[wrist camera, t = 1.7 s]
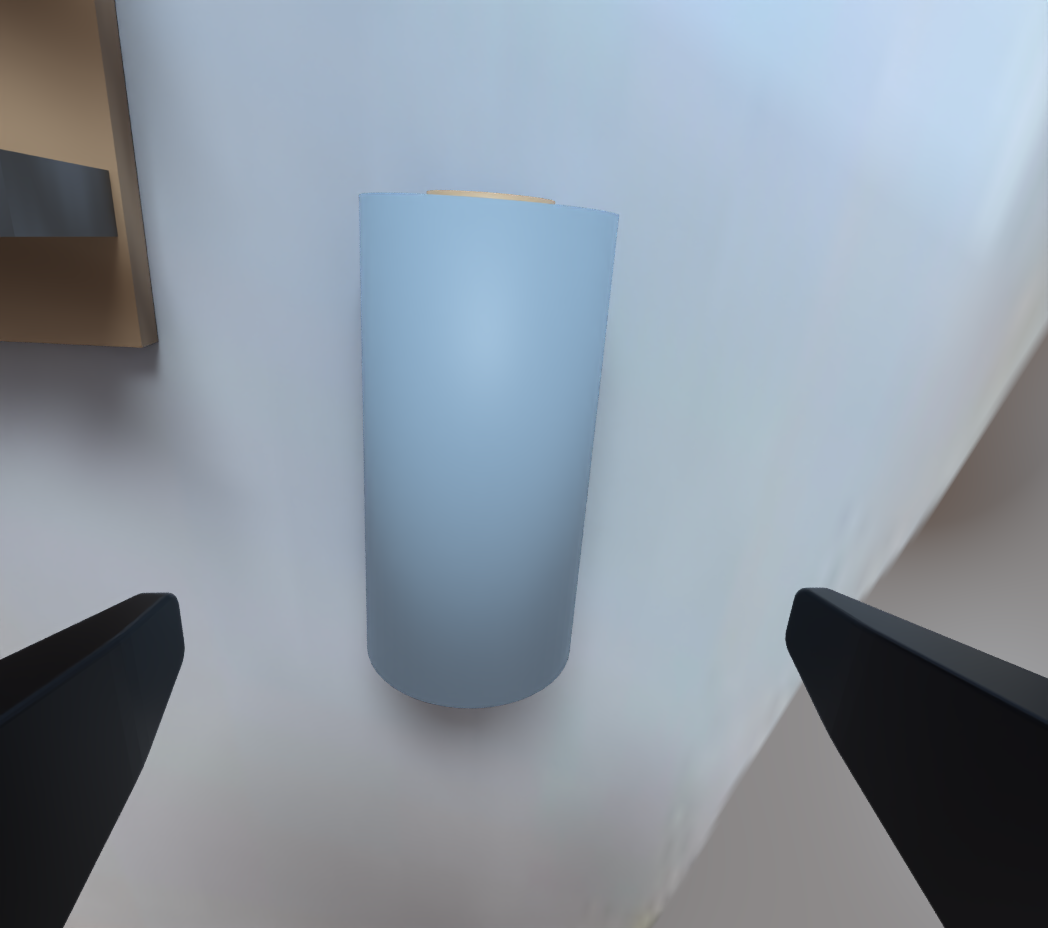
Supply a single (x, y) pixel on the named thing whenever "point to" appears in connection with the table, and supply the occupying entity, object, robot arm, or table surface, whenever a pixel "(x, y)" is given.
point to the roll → (477, 434)
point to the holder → (69, 181)
